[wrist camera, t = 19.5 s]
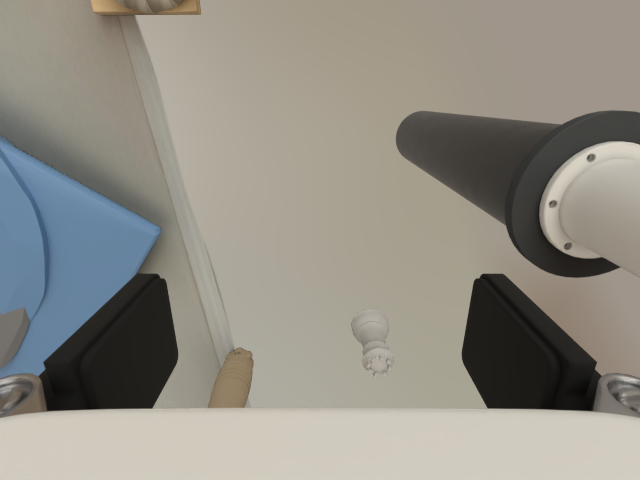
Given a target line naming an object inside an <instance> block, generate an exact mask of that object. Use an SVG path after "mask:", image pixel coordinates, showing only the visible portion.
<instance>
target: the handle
mask: <svg viewBox="0 0 640 480" xmlns="http://www.w3.org/2000/svg"><path fill="white" fill-rule="evenodd" d="M252 368H253V359H252V353H251V352H250V351H246V350H244V349H242V348H236V350H235V351H233V352H230V353H229V354H228V356H227V358H226V361H225V363H224V364H223V366H222V368H221V370H220V372H219V374H218V376H217V379H216V382H215V384H214V387H213V391H212V394H211V398H210V402H209V405H208V408H244V407H245V404H246V401H247V398H248V394H249V390H250V386H251V380H252Z"/></svg>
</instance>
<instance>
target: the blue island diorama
mask: <svg viewBox="0 0 640 480" xmlns="http://www.w3.org/2000/svg"><path fill="white" fill-rule="evenodd" d="M160 233H161V229H160V227H159V226H157V225H155V224H153V223H151V222H150V221H148V220H146V219H144V218H142V217H141V216H139V215H137V214H135V213H133V212H131V211H130V210H128V209H126V208H124V207H122V206H121V205H119V204H117V203H115V202H113V201H112V200H110V199H108V198H106V197H104V196H102V195H101V194H99V193H97V192H95V191H93V190H92V189H90V188H88V187H86V186H84V185H83V184H81V183H79V182H77V181H75V180H73V179H72V178H70V177H68V176H66V175H64V174H63V173H61V172H59V171H57V170H55V169H53V168H52V167H50V166H48V165H46V164H44V163H43V162H41V161H39V160H37V159H35V158H34V157H32V156H30V155H28V154H26V153H24V152H23V151H21V150H19V149H17V148H16V147H15V146H14V145H12V144H11V143H10V142H9V141H7V140H6V139H4V138H3V137H1V136H0V378H2V377H5V376H9V375H13V374H20V373H29V374H34V375H37V376H39V375H40V374H41V373H42V372H43V371H44V370H45V366H44V364H43V362H44V361H45V360H46V359H47V358H48V357H49V356H50V355H51V354H52V353H53V352H54V351H56V350H57V349H58V348H59V347H60V346H61V345H62V344H63V343H64V342H65V341H66V340H67V339H68V338H69V337H70V336H71V335H72V334H73V333H75V332H76V331H77V330H78V329H79V328H80V327H81V326H82V325H83V324H84V323H85V322H86V321H87V320H88V319H89V318H90V317H91V316H93V315H94V314H95V313H96V312H97V311H98V310H99V309H100V308H101V307H102V306H103V305H104V304H105V303H106V302H107V301H108V300H109V299H111V298H112V297H113V296H114V295H115V294H116V293H117V292H118V291H119V290H120V289H121V288H122V287H123V286H124V285H125V284H126V283H127V282H128V281H130V280H131V279H132V278H133V277H134V276H135V275H136V274H137V272H138V270H139V269H140V267H141V265H142V263H143V262H144V260H145V258H146V257H147V255H148V253H149V252H150V250H151V248H152V247H153V245H154V243H155V242H156V240H157V238H158V237H159V235H160Z"/></svg>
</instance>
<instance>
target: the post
mask: <svg viewBox="0 0 640 480" xmlns="http://www.w3.org/2000/svg"><path fill="white" fill-rule="evenodd" d="M91 3H92V8H93V12H95V13H98V14H100V15H196V14H201V9H200V0H183V1H182V2H181V3H180V4H179V5H178V6H177V7H175V8H171V9H168V10H165V11H161V12H158V13H155V14H150V13H146V12H141V11H137V10H133V9H128V8H126V7H124V6H122V5H121V4H120V3H118V2H117V1H116V0H91Z"/></svg>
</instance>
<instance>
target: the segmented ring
mask: <svg viewBox="0 0 640 480" xmlns="http://www.w3.org/2000/svg"><path fill="white" fill-rule="evenodd" d="M116 1H117V2H118V3H120V4H121V5H122V6H124V7H126V8H128V9H133V10H137V11H141V12H146V13H150V14H155V13H158V12H161V11H165V10H168V9H171V8H175V7H177V6H178V5H179V4H180V3H181V2H182V1H183V0H116Z"/></svg>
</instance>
